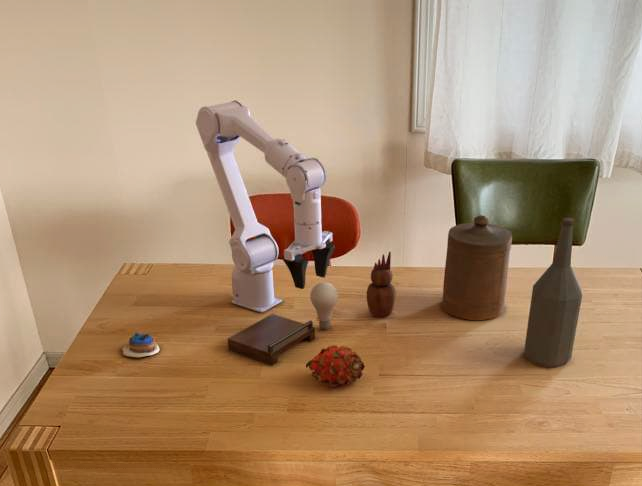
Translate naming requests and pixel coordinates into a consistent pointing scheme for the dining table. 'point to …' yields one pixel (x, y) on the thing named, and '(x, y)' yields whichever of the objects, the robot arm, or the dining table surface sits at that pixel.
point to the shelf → (270, 338)
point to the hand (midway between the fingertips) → (310, 281)
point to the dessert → (140, 346)
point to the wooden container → (476, 270)
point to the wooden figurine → (381, 289)
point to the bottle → (554, 307)
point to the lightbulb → (324, 302)
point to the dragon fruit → (337, 365)
